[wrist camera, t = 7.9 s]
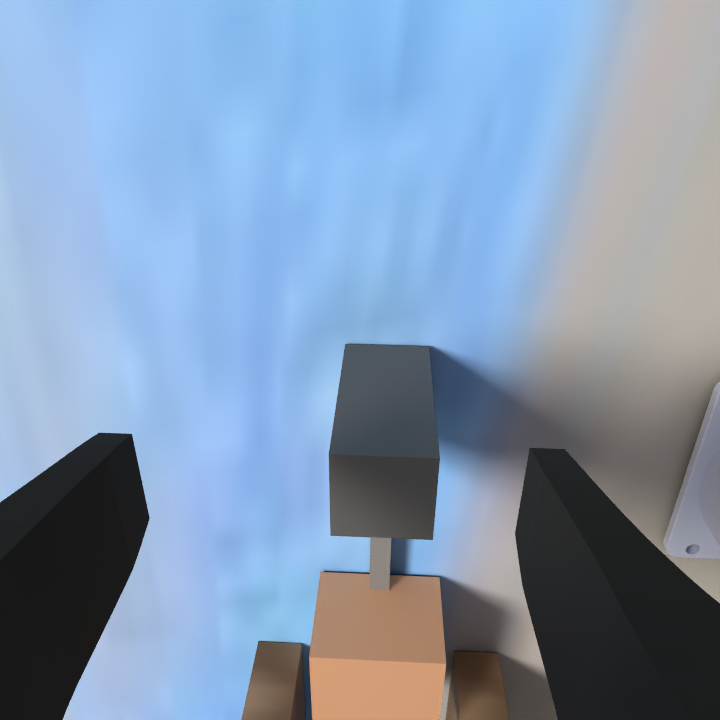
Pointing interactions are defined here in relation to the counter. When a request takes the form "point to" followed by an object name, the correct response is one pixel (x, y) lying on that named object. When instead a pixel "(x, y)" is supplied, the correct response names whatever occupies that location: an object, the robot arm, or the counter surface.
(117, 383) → the counter surface
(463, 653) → the brown wooden u-shaped piece
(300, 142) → the counter surface
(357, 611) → the grey and tan dumbbell
